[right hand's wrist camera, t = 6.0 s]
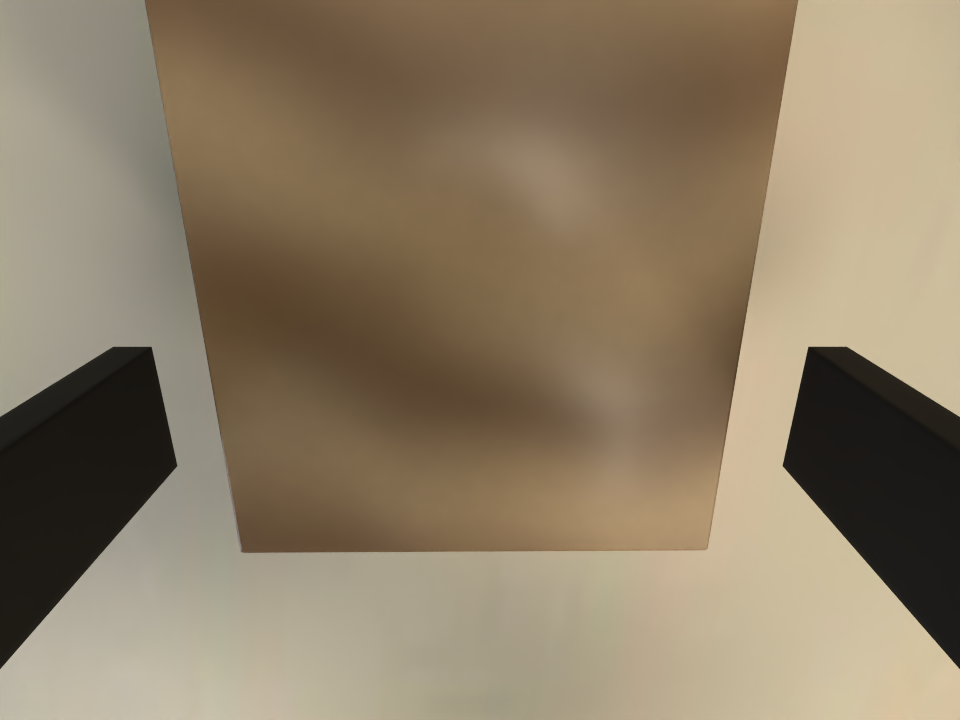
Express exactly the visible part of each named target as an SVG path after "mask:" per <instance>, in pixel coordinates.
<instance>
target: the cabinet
mask: <svg viewBox="0 0 960 720" xmlns="http://www.w3.org/2000/svg"><path fill="white" fill-rule="evenodd" d="M797 3H798V0H145V4H146V10H147V15H148V21H149V27H150V33H151V38H152V44H153V50H154V56H155V61H156V67H157V73H158V79H159V84H160V90H161V96H162V102H163V107H164V113H165V119H166V125H167V130H168V136H169V142H170V147H171V153H172V159H173V165H174V170H175V176H176V182H177V188H178V193H179V199H180V205H181V211H182V216H183V222H184V228H185V234H186V239H187V245H188V251H189V257H190V262H191V268H192V274H193V279H194V285H195V291H196V297H197V302H198V308H199V314H200V320H201V325H202V331H203V337H204V343H205V348H206V354H207V360H208V366H209V371H210V377H211V383H212V389H213V394H214V400H215V406H216V411H217V417H218V423H219V429H220V434H221V440H222V446H223V452H224V457H225V463H226V469H227V475H228V480H229V486H230V492H231V498H232V503H233V509H234V515H235V521H236V526H237V532H238V538H239V543H240V549H241V552H243V553H268V552H449V551H630V550H707V548H708V542H709V536H710V530H711V524H712V518H713V512H714V506H715V500H716V494H717V488H718V481H719V475H720V469H721V463H722V457H723V451H724V445H725V439H726V433H727V427H728V421H729V415H730V409H731V403H732V397H733V391H734V385H735V379H736V373H737V367H738V360H739V354H740V348H741V342H742V336H743V330H744V324H745V318H746V312H747V306H748V300H749V294H750V288H751V282H752V276H753V270H754V264H755V258H756V252H757V245H758V239H759V233H760V227H761V221H762V215H763V209H764V203H765V197H766V191H767V185H768V179H769V173H770V167H771V161H772V155H773V149H774V143H775V137H776V130H777V124H778V118H779V112H780V106H781V100H782V94H783V88H784V82H785V76H786V70H787V64H788V58H789V52H790V46H791V40H792V34H793V28H794V22H795V16H796V9H797Z"/></svg>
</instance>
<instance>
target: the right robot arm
mask: <svg viewBox="0 0 960 720" xmlns="http://www.w3.org/2000/svg"><path fill="white" fill-rule="evenodd" d="M176 467H177V462H176V458H175V453H174V449H173V444H172V439H171V435H170V430H169V425H168V421H167V416H166V412H165V407H164V402H163V398H162V393H161V388H160V384H159V379H158V375H157V370H156V365H155V361H154V356H153V351H152V347H112V348H111V349H109V350H107V351H106V352H104V353H103V354H101V355H99V356H98V357H96V358H94V359H93V360H91V361H90V362H88V363H86V364H85V365H83V366H82V367H80V368H78V369H77V370H75V371H74V372H72V373H70V374H69V375H67V376H66V377H64V378H62V379H61V380H59V381H57V382H56V383H54V384H53V385H51V386H49V387H48V388H46V389H45V390H43V391H41V392H40V393H38V394H37V395H35V396H33V397H32V398H30V399H29V400H27V401H25V402H24V403H22V404H20V405H19V406H17V407H16V408H14V409H12V410H11V411H9V412H8V413H6V414H4V415H3V416H1V417H0V669H1V668H2V666H3V665H4V664H5V663H6V662H7V661H8V659H9V658H10V657H11V656H12V655H13V654H14V653H15V651H16V650H17V649H18V648H19V647H20V646H21V645H22V643H23V642H24V641H25V640H26V639H27V638H28V637H29V635H30V634H31V633H32V632H33V631H34V630H35V629H36V627H37V626H38V625H39V624H40V623H41V622H42V621H43V619H44V618H45V617H46V616H47V615H48V614H49V612H50V611H51V610H52V609H53V608H54V607H55V606H56V604H57V603H58V602H59V601H60V600H61V599H62V598H63V596H64V595H65V594H66V593H67V592H68V591H69V590H70V588H71V587H72V586H73V585H74V584H75V583H76V582H77V580H78V579H79V578H80V577H81V576H82V575H83V574H84V572H85V571H86V570H87V569H88V568H89V567H90V565H91V564H92V563H93V562H94V561H95V560H96V559H97V557H98V556H99V555H100V554H101V553H102V552H103V551H104V549H105V548H106V547H107V546H108V545H109V544H110V543H111V541H112V540H113V539H114V538H115V537H116V536H117V535H118V533H119V532H120V531H121V530H122V529H123V528H124V527H125V525H126V524H127V523H128V522H129V521H130V520H131V518H132V517H133V516H134V515H135V514H136V513H137V512H138V510H139V509H140V508H141V507H142V506H143V505H144V504H145V502H146V501H147V500H148V499H149V498H150V497H151V496H152V494H153V493H154V492H155V491H156V490H157V489H158V488H159V486H160V485H161V484H162V483H163V482H164V481H165V480H166V478H167V477H168V476H169V475H170V474H171V473H172V471H173V470H174V469H175V468H176ZM783 467H784V468H785V469H786V470H787V471H788V473H789V474H790V475H791V476H792V477H793V478H794V480H795V481H796V482H797V483H798V484H799V485H800V486H801V488H802V489H803V490H804V491H805V492H806V493H807V494H808V496H809V497H810V498H811V499H812V500H813V501H814V502H815V504H816V505H817V506H818V507H819V508H820V509H821V510H822V512H823V513H824V514H825V515H826V516H827V517H828V518H829V520H830V521H831V522H832V523H833V524H834V525H835V527H836V528H837V529H838V530H839V531H840V532H841V533H842V535H843V536H844V537H845V538H846V539H847V540H848V541H849V543H850V544H851V545H852V546H853V547H854V548H855V549H856V551H857V552H858V553H859V554H860V555H861V556H862V557H863V559H864V560H865V561H866V562H867V563H868V564H869V565H870V567H871V568H872V569H873V570H874V571H875V572H876V574H877V575H878V576H879V577H880V578H881V579H882V580H883V582H884V583H885V584H886V585H887V586H888V587H889V588H890V590H891V591H892V592H893V593H894V594H895V595H896V596H897V598H898V599H899V600H900V601H901V602H902V603H903V604H904V606H905V607H906V608H907V609H908V610H909V611H910V612H911V614H912V615H913V616H914V617H915V618H916V619H917V621H918V622H919V623H920V624H921V625H922V626H923V627H924V629H925V630H926V631H927V632H928V633H929V634H930V635H931V637H932V638H933V639H934V640H935V641H936V642H937V643H938V645H939V646H940V647H941V648H942V649H943V650H944V651H945V653H946V654H947V655H948V656H949V657H950V658H951V659H952V661H953V662H954V663H955V664H956V665H957V666H958V668H959V669H960V417H959V416H957V415H956V414H954V413H952V412H951V411H949V410H948V409H946V408H944V407H943V406H941V405H940V404H938V403H936V402H935V401H933V400H931V399H930V398H928V397H927V396H925V395H923V394H922V393H920V392H919V391H917V390H915V389H914V388H912V387H911V386H909V385H907V384H906V383H904V382H903V381H901V380H899V379H898V378H896V377H894V376H893V375H891V374H890V373H888V372H886V371H885V370H883V369H882V368H880V367H878V366H877V365H875V364H874V363H872V362H870V361H869V360H867V359H866V358H864V357H862V356H861V355H859V354H857V353H856V352H854V351H853V350H851V349H849V348H848V347H808V351H807V356H806V361H805V365H804V370H803V375H802V379H801V384H800V388H799V393H798V398H797V402H796V407H795V412H794V416H793V421H792V425H791V430H790V435H789V439H788V444H787V449H786V453H785V458H784V462H783Z"/></svg>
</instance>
